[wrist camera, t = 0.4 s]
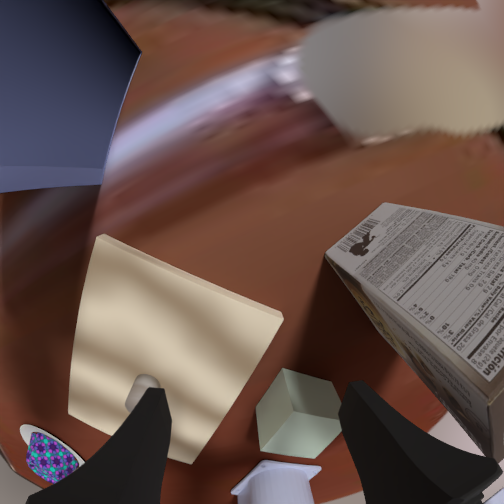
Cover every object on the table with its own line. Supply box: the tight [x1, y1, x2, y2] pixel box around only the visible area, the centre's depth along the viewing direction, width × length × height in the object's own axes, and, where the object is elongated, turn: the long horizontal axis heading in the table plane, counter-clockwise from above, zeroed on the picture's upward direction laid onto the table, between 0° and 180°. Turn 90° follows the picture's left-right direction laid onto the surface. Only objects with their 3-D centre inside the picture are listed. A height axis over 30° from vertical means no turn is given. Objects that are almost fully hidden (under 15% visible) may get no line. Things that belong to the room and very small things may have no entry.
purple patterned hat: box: [20, 424, 85, 484], centre depth 22 cm, size 12×12×5 cm
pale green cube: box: [256, 368, 342, 458], centre depth 20 cm, size 5×5×5 cm
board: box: [68, 234, 284, 464], centre depth 19 cm, size 20×14×4 cm
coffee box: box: [325, 203, 504, 463], centre depth 12 cm, size 9×6×16 cm
